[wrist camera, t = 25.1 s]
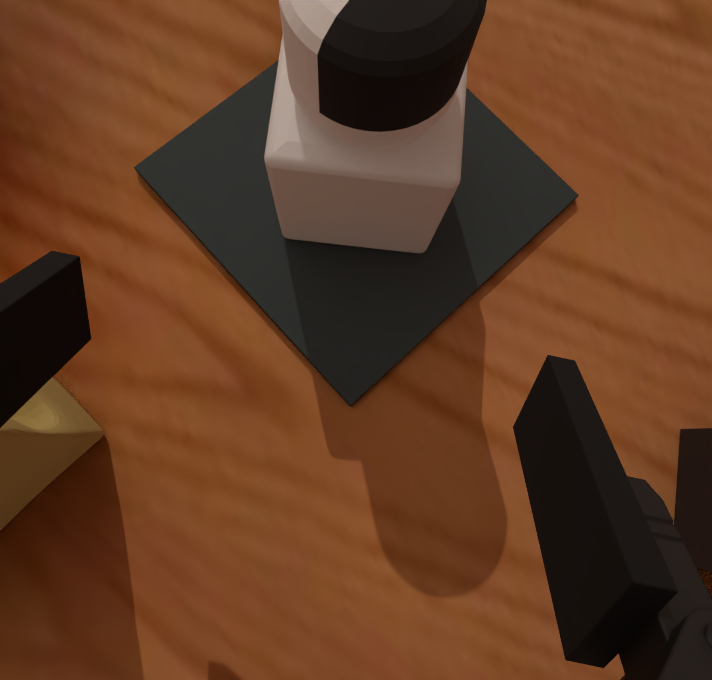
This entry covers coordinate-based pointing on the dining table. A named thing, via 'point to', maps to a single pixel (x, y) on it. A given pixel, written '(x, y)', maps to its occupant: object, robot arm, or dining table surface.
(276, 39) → the dining table surface
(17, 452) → the cheese
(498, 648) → the dining table surface
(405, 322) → the mat
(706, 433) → the lidded grey box
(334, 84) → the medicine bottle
